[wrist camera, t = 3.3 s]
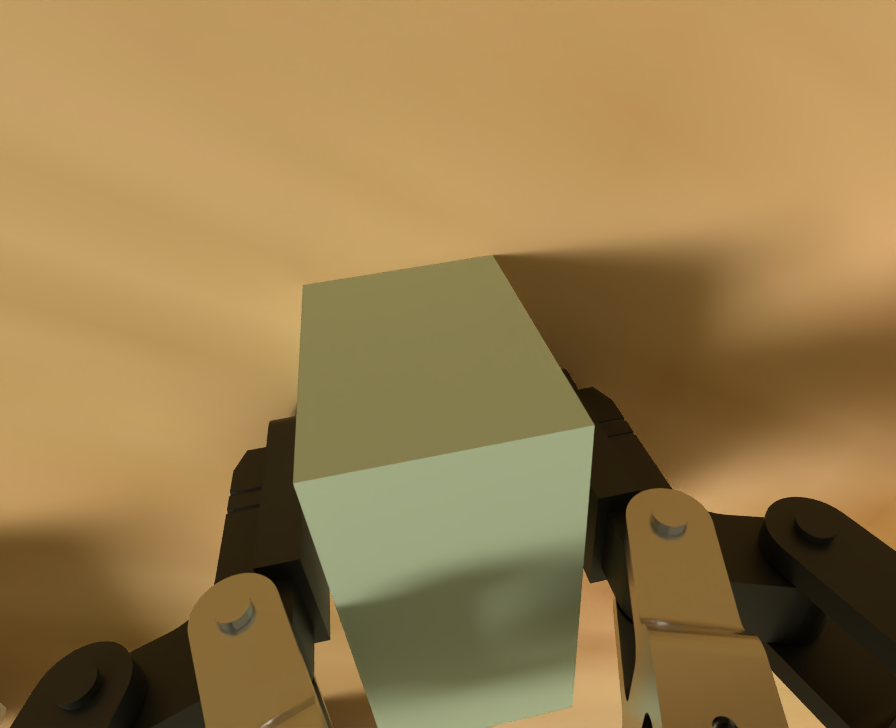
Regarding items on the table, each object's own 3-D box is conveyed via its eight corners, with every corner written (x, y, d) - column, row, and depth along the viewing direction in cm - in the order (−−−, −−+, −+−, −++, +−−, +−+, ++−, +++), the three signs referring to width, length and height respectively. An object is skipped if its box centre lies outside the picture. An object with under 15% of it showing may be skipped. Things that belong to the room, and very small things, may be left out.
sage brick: (302, 282, 10) (292, 484, 6) (491, 253, 11) (595, 424, 7) (367, 532, 15) (385, 751, 10) (503, 504, 15) (571, 707, 11)
